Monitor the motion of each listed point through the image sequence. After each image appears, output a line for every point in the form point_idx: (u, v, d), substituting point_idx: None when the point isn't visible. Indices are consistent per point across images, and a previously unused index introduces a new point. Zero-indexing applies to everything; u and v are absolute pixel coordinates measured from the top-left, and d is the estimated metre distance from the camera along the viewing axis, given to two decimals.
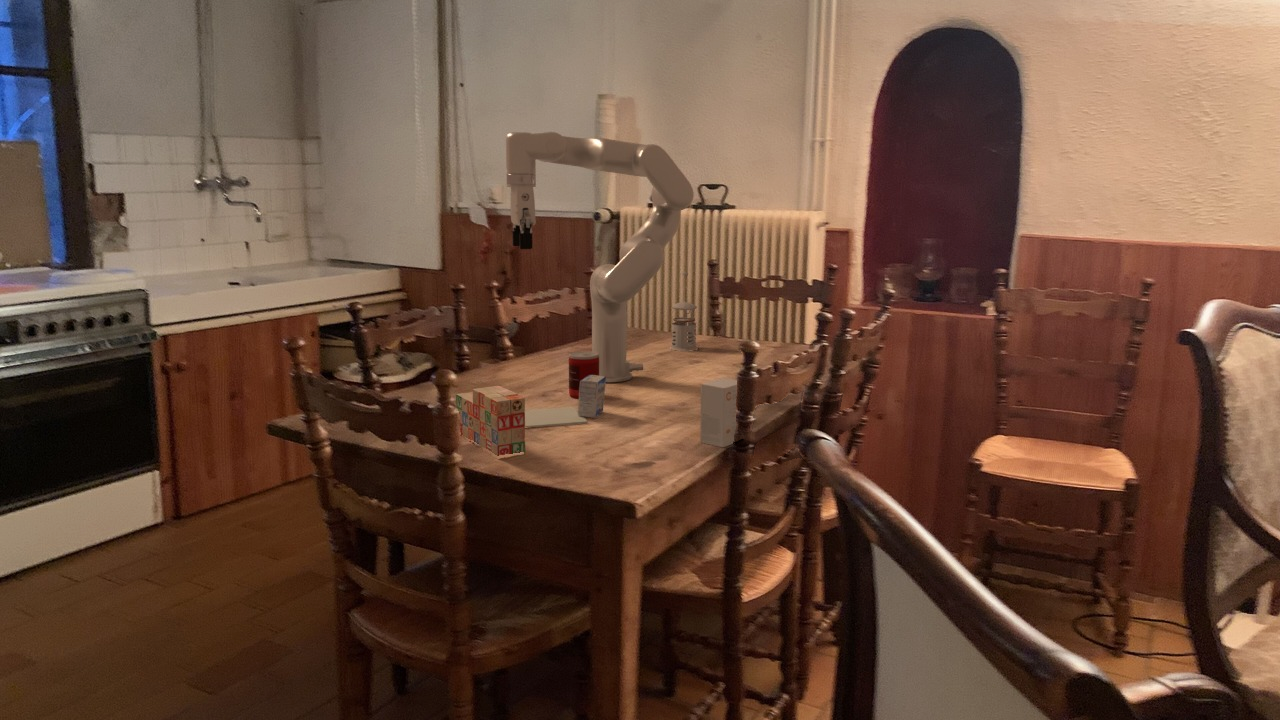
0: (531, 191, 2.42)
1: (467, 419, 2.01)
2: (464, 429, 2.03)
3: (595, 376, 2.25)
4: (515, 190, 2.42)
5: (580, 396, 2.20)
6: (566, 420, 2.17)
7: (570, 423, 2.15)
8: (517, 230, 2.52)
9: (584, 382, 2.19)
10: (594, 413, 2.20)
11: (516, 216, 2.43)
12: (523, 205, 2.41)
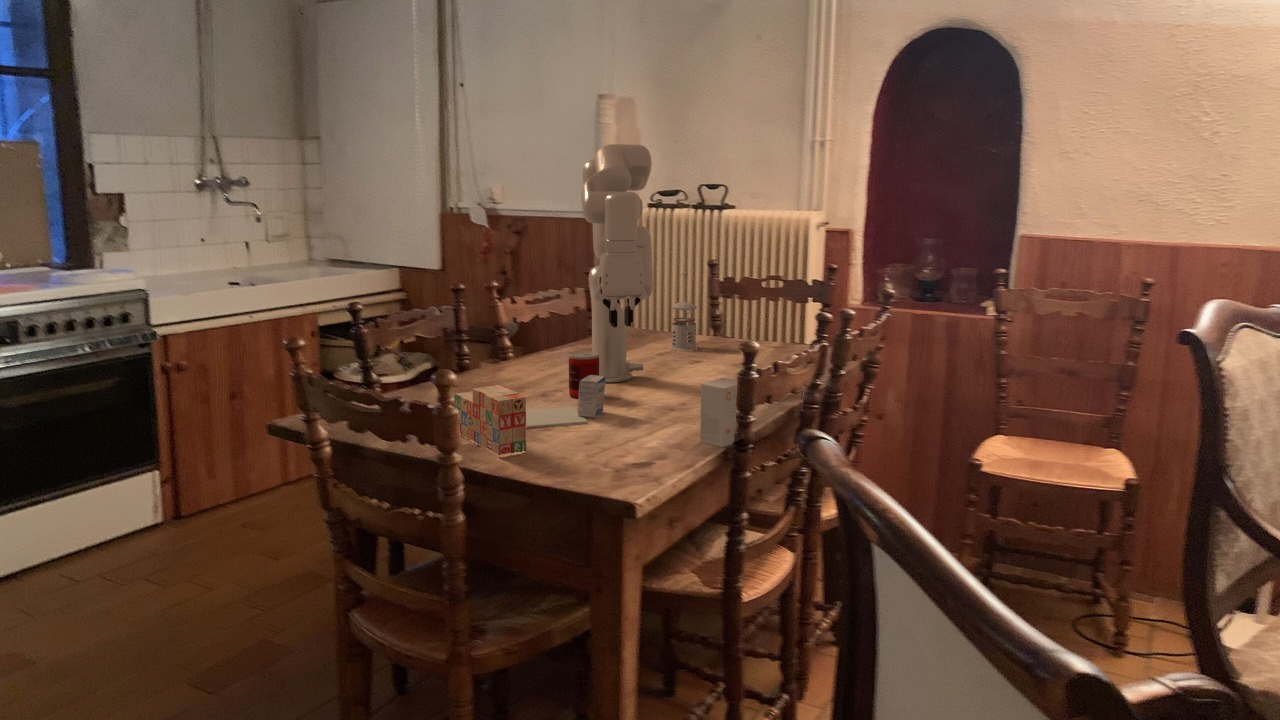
0: None
1: (467, 419, 2.02)
2: (463, 429, 2.04)
3: (595, 376, 2.25)
4: (638, 258, 2.18)
5: (580, 396, 2.20)
6: (566, 420, 2.17)
7: (570, 423, 2.15)
8: None
9: (584, 382, 2.19)
10: (594, 413, 2.20)
11: (639, 286, 2.19)
12: None
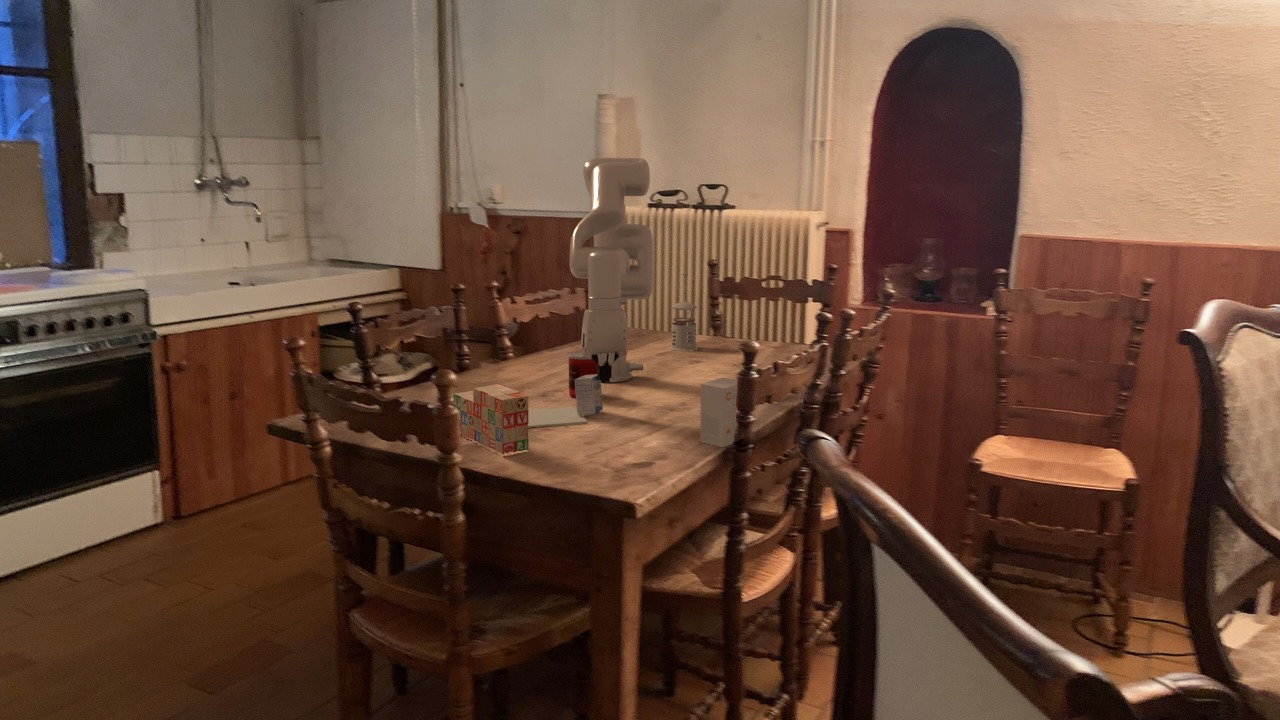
0: None
1: (467, 418, 2.02)
2: (463, 428, 2.04)
3: (589, 375, 2.25)
4: (621, 315, 2.19)
5: (577, 395, 2.20)
6: (566, 420, 2.17)
7: (570, 423, 2.15)
8: None
9: (579, 380, 2.19)
10: (593, 409, 2.20)
11: (622, 342, 2.21)
12: None
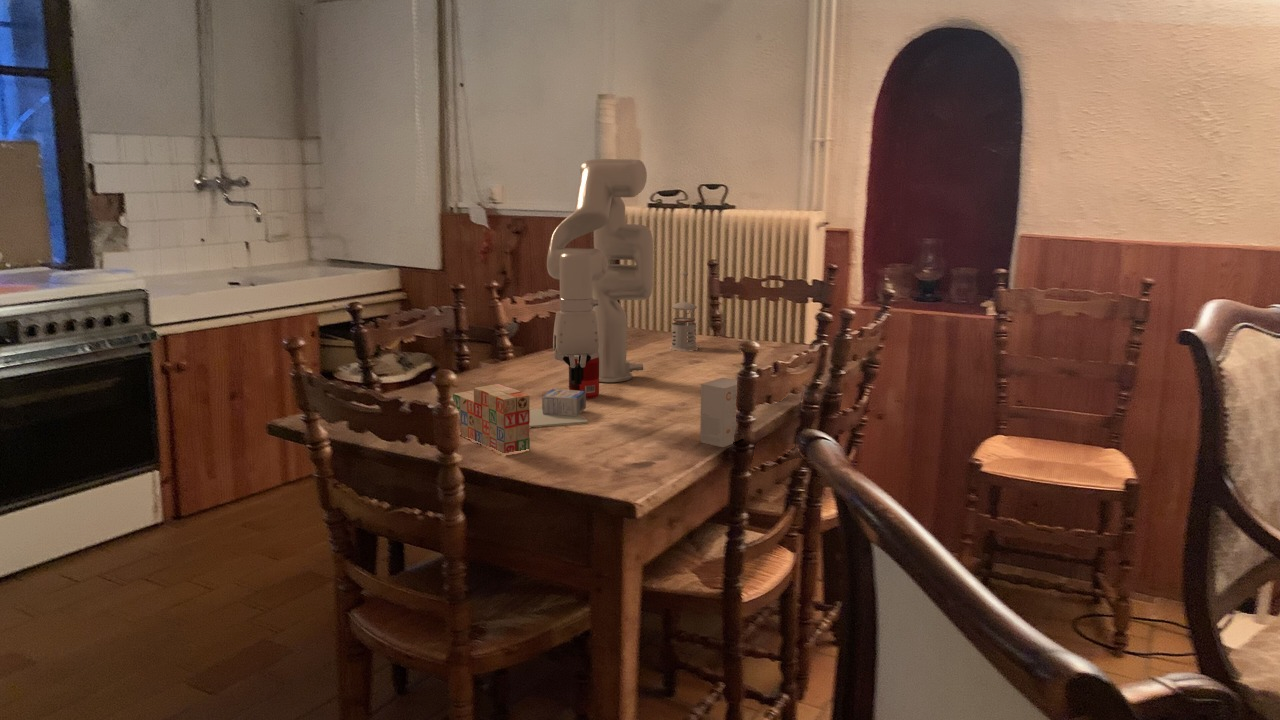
0: None
1: (466, 418, 2.02)
2: (463, 428, 2.04)
3: None
4: (593, 316, 2.17)
5: (557, 413, 2.21)
6: (566, 420, 2.17)
7: (570, 423, 2.15)
8: None
9: (543, 409, 2.22)
10: (572, 399, 2.20)
11: (594, 344, 2.19)
12: None
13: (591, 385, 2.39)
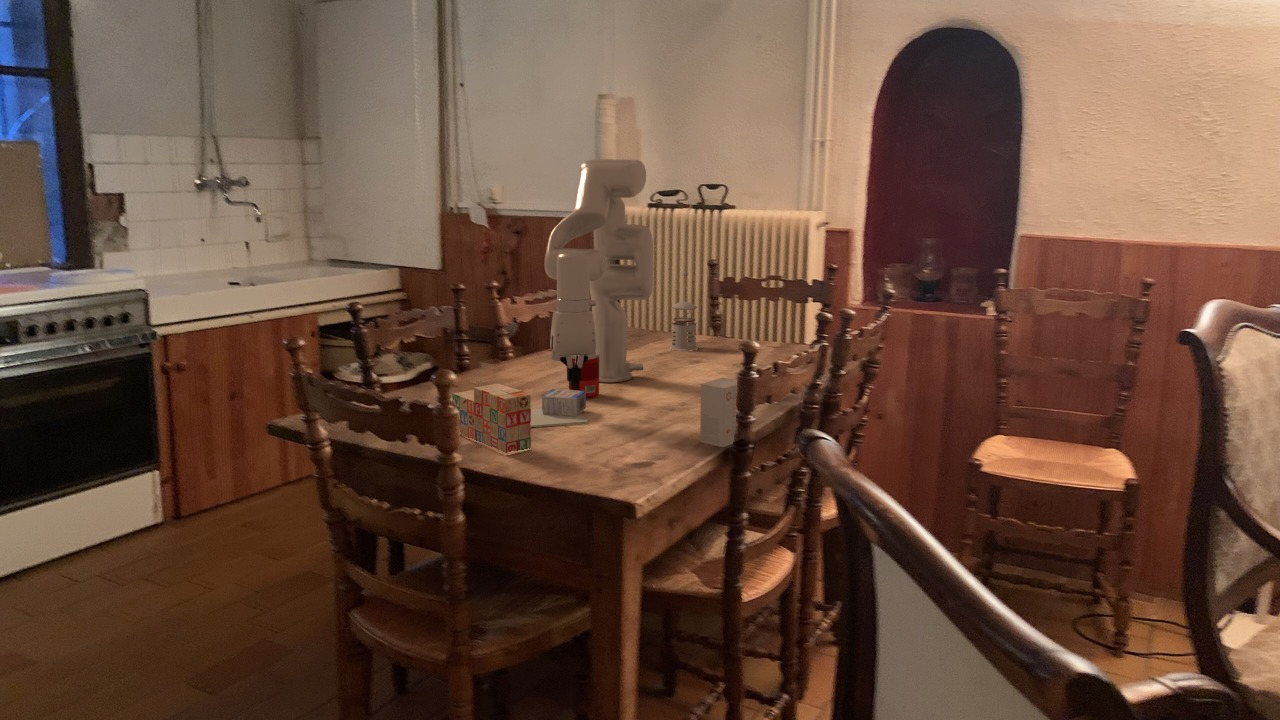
0: None
1: (466, 418, 2.02)
2: (462, 428, 2.04)
3: None
4: (590, 317, 2.17)
5: (557, 413, 2.21)
6: (566, 420, 2.17)
7: (570, 423, 2.15)
8: None
9: (543, 409, 2.22)
10: (572, 399, 2.20)
11: (591, 344, 2.18)
12: None
13: (591, 385, 2.39)
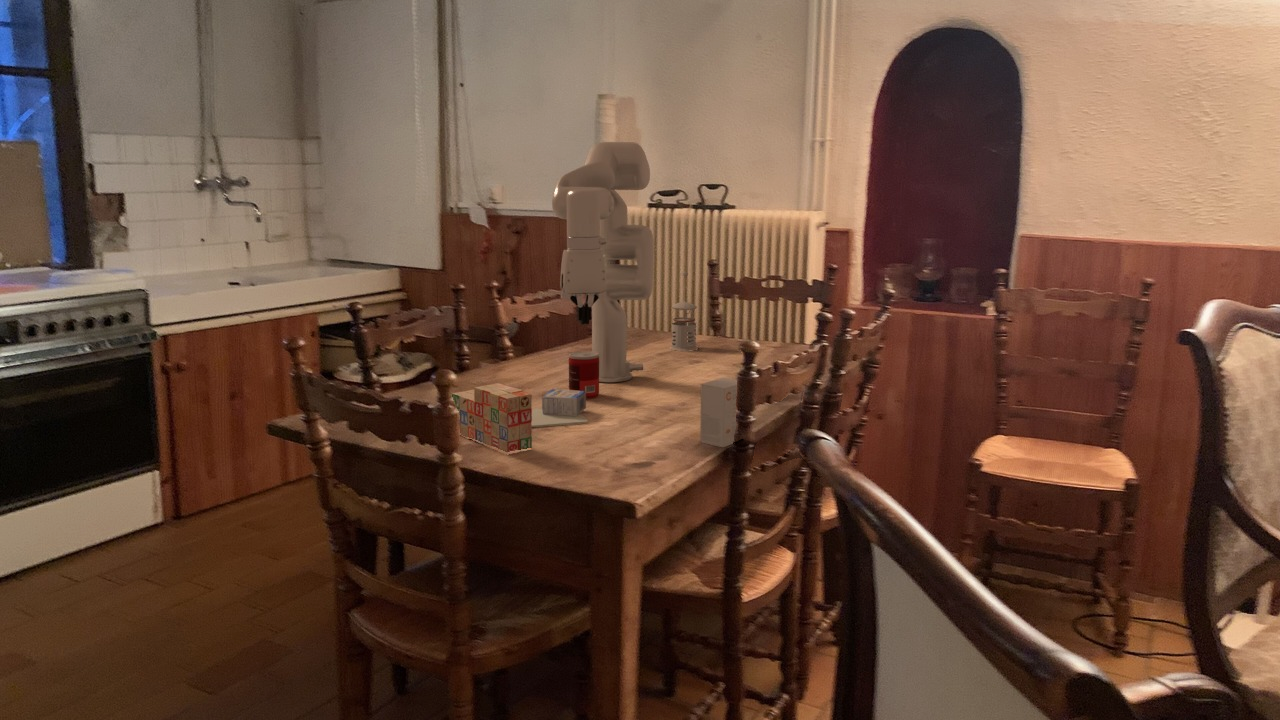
0: None
1: (466, 418, 2.03)
2: (462, 428, 2.04)
3: None
4: (600, 255, 2.15)
5: (557, 413, 2.21)
6: (566, 420, 2.17)
7: (570, 423, 2.15)
8: None
9: (543, 409, 2.22)
10: (572, 399, 2.20)
11: (602, 283, 2.17)
12: None
13: (591, 385, 2.39)
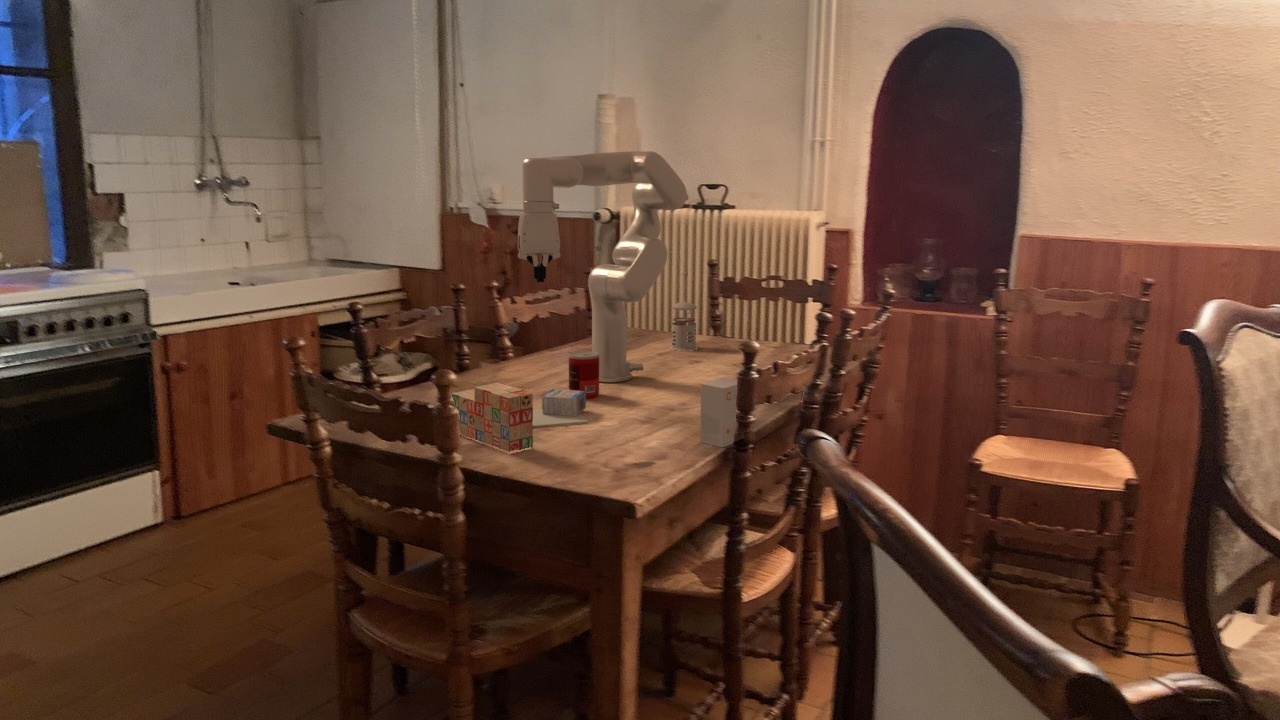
0: None
1: (466, 417, 2.03)
2: (462, 427, 2.05)
3: None
4: (554, 218, 2.35)
5: (557, 413, 2.21)
6: (566, 420, 2.17)
7: (570, 423, 2.15)
8: None
9: (543, 409, 2.22)
10: (572, 399, 2.20)
11: (555, 244, 2.37)
12: None
13: (591, 385, 2.39)
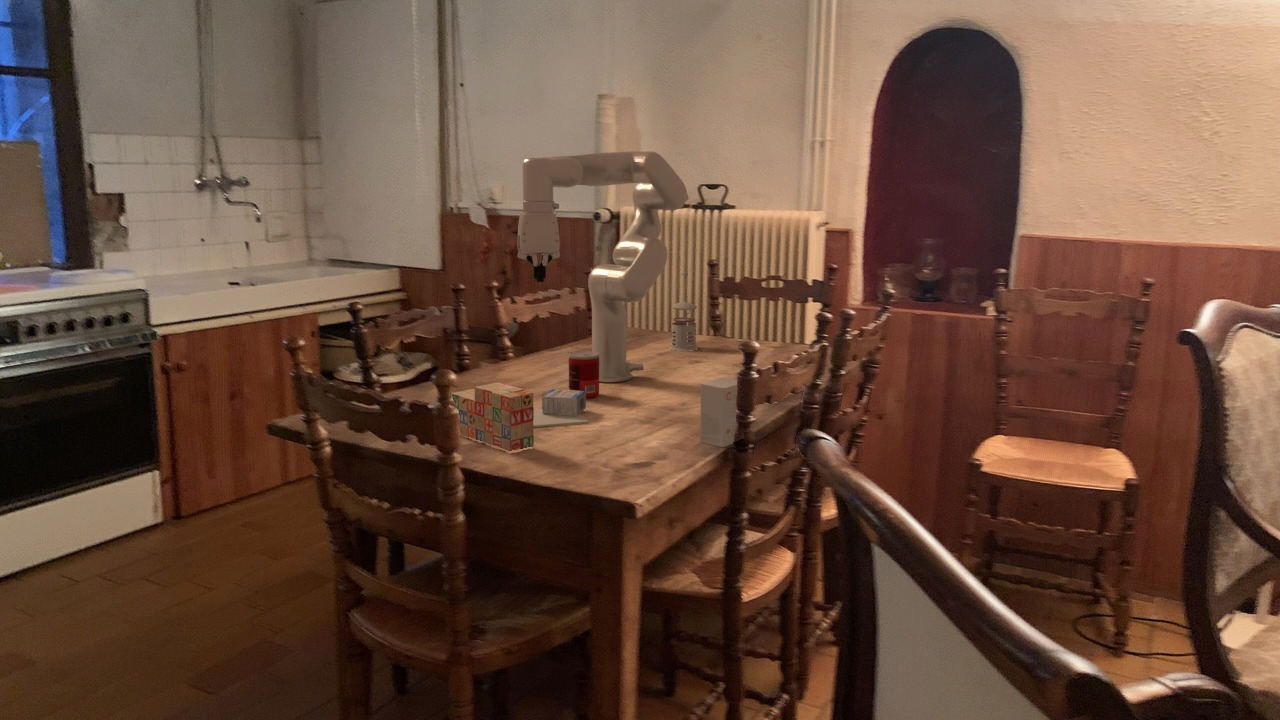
0: None
1: (466, 417, 2.03)
2: (462, 427, 2.05)
3: None
4: (553, 218, 2.35)
5: (557, 413, 2.21)
6: (566, 420, 2.17)
7: (570, 423, 2.15)
8: None
9: (543, 409, 2.22)
10: (572, 399, 2.20)
11: (555, 244, 2.37)
12: None
13: (591, 385, 2.39)
